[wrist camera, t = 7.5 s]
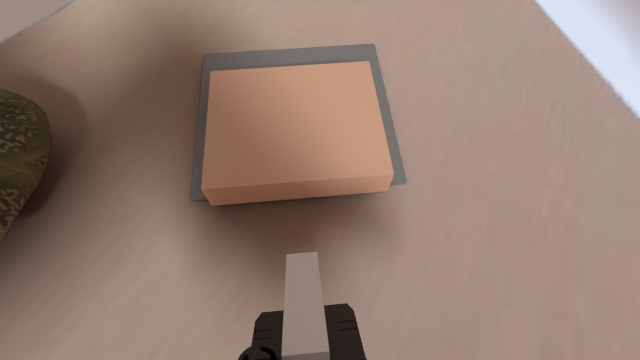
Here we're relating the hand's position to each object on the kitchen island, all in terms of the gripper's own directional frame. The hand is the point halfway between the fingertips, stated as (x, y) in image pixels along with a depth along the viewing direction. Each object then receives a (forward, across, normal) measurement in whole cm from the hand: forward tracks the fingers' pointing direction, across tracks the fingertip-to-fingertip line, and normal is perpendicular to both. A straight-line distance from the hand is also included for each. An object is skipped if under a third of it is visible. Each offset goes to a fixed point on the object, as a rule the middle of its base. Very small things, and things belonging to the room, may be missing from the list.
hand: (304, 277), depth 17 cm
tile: (+6, 0, +2) cm, 7 cm away
